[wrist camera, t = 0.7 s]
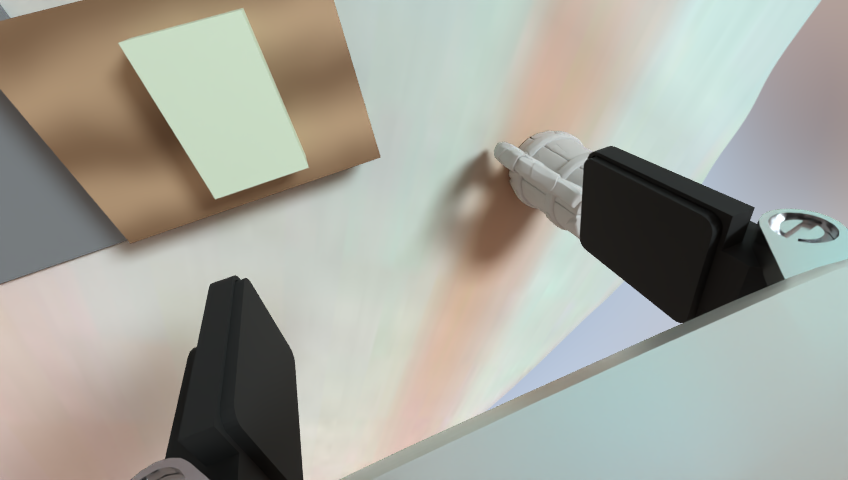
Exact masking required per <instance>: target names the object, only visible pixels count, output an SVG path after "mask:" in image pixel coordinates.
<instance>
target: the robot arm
mask: <svg viewBox="0 0 848 480" xmlns="http://www.w3.org/2000/svg"><path fill="white" fill-rule="evenodd" d="M753 211H754V207H752V206H750V205H748V204H745V203H743V202H741V201H738V200H736V199H734V198H731V197H729V196H727V195H725V194H722V193H720V192H718V191H715V190H713V189H711V188H709V187H706V186H704V185H702V184H699V183H697V182H695V181H692V180H690V179H688V178H685V177H683V176H681V175H679V174H676V173H674V172H672V171H669V170H667V169H665V168H662V167H660V166H658V165H656V164H653V163H651V162H649V161H646V160H644V159H642V158H639V157H637V156H635V155H632V154H630V153H628V152H626V151H623V150H621V149H619V148H616V147H613V146H609V147H606V148H603V149H600V150H597V151H594V152H592V153H590V154H589V156H588V159H587V160H586V161H585V163H584V168H583V186H582V204H581V221H580V242H581V244H582V246H583V247H584V248H585V249H586V250H587V251H588V252H589V253H591V254H592V255H593V256H594V257H596V258H597V259H598V260H599V261H601V262H602V263H603V264H604V265H606V266H607V267H608V268H609V269H611V270H612V271H613V272H614V273H616V274H617V275H618V276H619V277H621V278H622V279H623V280H624V281H626V282H627V283H628V284H629V285H631V286H632V287H633V288H634V289H636V290H637V291H638V292H640V293H641V294H642V295H643V296H644V297H646V298H647V299H648V300H649V301H651V302H652V303H653V304H654V305H656V306H657V307H658V308H660V309H661V310H662V311H663V312H665V313H666V314H667V315H669V316H670V317H671V318H672V319H673V320H675V321H676V322H679V323H683V324H680V325H678V326H676V327H673V328H671V329H669V330H667V331H664V332H662V333H660V334H658V335H655V336H653V337H651V338H649V339H646V340H644V341H642V342H640V343H637V344H635V345H633V346H631V347H629V348H626V349H624V350H622V351H619V352H617V353H615V354H613V355H610V356H609V357H606V358H604V359H602V360H599V361H597V362H595V363H593V364H591V365H588V366H586V367H584V368H581V369H579V370H577V371H575V372H572V373H570V374H568V375H566V376H564V377H561V378H559V379H557V380H555V381H553V382H550V383H548V384H546V385H544V386H542V387H539V388H537V389H535V390H533V391H530V392H528V393H526V394H524V395H521V396H519V397H517V398H515V399H513V400H510V401H508V402H506V403H504V404H502V405H500V406H497V407H495V408H493V409H491V410H488V411H486V412H484V413H482V414H480V415H477V416H475V417H473V418H471V419H469V420H466V421H464V422H462V423H460V424H458V425H455V426H453V427H451V428H449V429H447V430H444V431H442V432H440V433H438V434H436V435H433V436H431V437H429V438H427V439H425V440H422V441H420V442H418V443H416V444H414V445H411V446H409V447H407V448H405V449H403V450H401V451H399V452H396V453H394V454H392V455H390V456H388V457H386V458H384V459H382V460H380V461H377V462H375V463H373V464H371V465H369V466H367V467H365V468H363V469H361V470H358V471H356V472H354V473H352V474H350V475H348V476H346V477H344V478H342V479H340V480H848V229H847V228H846V227H845V226H844V225H843V224H842V223H840V222H838V221H836V220H835V219H833V218H831V217H829V216H826V215H823V214H820V213H817V212H812V211H807V210H800V209H777V210H773V211H769V212H767V213H765V214H763V215H762V216H761V217H760V219H759V221H758V224H756V223H753V222H751V221H750V219H751V216H752V213H753ZM131 480H303V470H302V456H301V442H300V428H299V414H298V399H297V385H296V371H295V360H294V356H293V353H292V351H291V349H290V347H289V345H288V344H287V342H286V340H285V339H284V337H283V335H282V334H281V332H280V330H279V329H278V327H277V325H276V324H275V322H274V320H273V319H272V317H271V315H270V314H269V312H268V310H267V309H266V307H265V305H264V304H263V302H262V300H261V299H260V297H259V295H258V294H257V292H256V290H255V289H254V287H253V285H252V284H251V282H250V281H249V280H248V279H247V278H245V279H242V280H240V278H239V277H238V276H232V277H229V278H226V279H223V280H220V281H217V282H215V283H212V284H210V286H209V291H208V295H207V300H206V305H205V310H204V315H203V320H202V325H201V329H200V334H199V339H198V344H197V347H196V348H193V349H192V350H191V351H190V353H189V356H188V359H187V364H186V368H185V372H184V377H183V381H182V386H181V390H180V395H179V399H178V404H177V408H176V412H175V417H174V421H173V426H172V430H171V435H170V439H169V444H168V448H167V453H166V457H165V459H164V460H161V461H158V462H155V463H154V464H152V465H150V466H148V467H147V468H145V469H143V470H142V471H140V472H139V473H138V474H137V475H136V476H134V477H133V478H132V479H131Z"/></svg>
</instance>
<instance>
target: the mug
mask: <svg viewBox="0 0 848 480" xmlns="http://www.w3.org/2000/svg"><path fill="white" fill-rule="evenodd" d="M531 138H532V139H531ZM531 138H528V139H527V140H526V141H525V142H524V143H523V144H522V145H521V146H520V147H519V148H517V147H515V146H514V145H511V144H509V143H506V142H502V143H501V142H500V143H498V144H497V145H496V147H495V150H494V156H495V158H496V159H497V160H498V161H499V162H500V163H502V164H503V165H504V166H505V167H506V168H508V169H509V176H510V178H511V179H510V184H511V186H512V188H513V190H514V192H515V194H516V195H517V197H518V198H519V199H520V200H521V201H522V202H523V203H524V204H526V205H527V206H529V207H532V208H536V209H539V210H541V211H542V212H543V213H545V214H546V217H547V218H548V219H549V220H550V221H551V222H552V223H554V224H555V225H556V226H557V227H559V228H561V229H563V230H568V231H569V232H571V233H572V234H574V235H575V236H576V237H578V238H579V239H580V221H581V204H582V186H583V168H584V163H585V161H586V160H587V159H588V156H589V154H590V153H592V152H593V151H591V150H589V149H588V148H586V147H584V146H583V144H582V143H581V141H580V140H579V139H578V138H576V137H575V136H573V135H571V134H569V133H567V132H562V131H546V132H542V133H537V134H535V135H533V136H531Z"/></svg>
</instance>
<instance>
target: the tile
mask: <svg viewBox="0 0 848 480" xmlns="http://www.w3.org/2000/svg"><path fill="white" fill-rule="evenodd" d="M118 44H119V45H120V47H121V48H122V50H123V52H124V53H125V55H126V56H127V58H128V60H129V61H130V63H131V65H132V66H133V68H134V69H135V71H136V73H137V74H138V76H139V77H140V79H141V81H142V82H143V84H144V85H145V87H146V89H147V90H148V92H149V94H150V95H151V97H152V98H153V100H154V102H155V103H156V105H157V106H158V108H159V110H160V111H161V113H162V114H163V116H164V118H165V119H166V121H167V122H168V124H169V126H170V127H171V129H172V131H173V132H174V134H175V135H176V137H177V139H178V140H179V142H180V143H181V145H182V147H183V148H184V150H185V151H186V153H187V155H188V156H189V158H190V160H191V161H192V163H193V164H194V166H195V168H196V169H197V171H198V172H199V174H200V176H201V177H202V179H203V180H204V182H205V184H206V185H207V187H208V188H209V190H210V192H211V193H212V195H213V197H214V198H215V199H218V198H221V197H224V196H227V195H230V194H233V193H236V192H239V191H241V190H244V189H247V188H250V187H253V186H256V185H259V184H262V183H265V182H268V181H271V180H274V179H277V178H280V177H283V176H286V175H289V174H292V173H295V172H297V171H300V170H303V169H306V168H309V167H308V163H307V159H306V155H305V153H304V150H303V148H302V146H301V143H300V141H299V138H298V136H297V134H296V131H295V129H294V127H293V124H292V122H291V120H290V117H289V115H288V113H287V110H286V108H285V105H284V103H283V101H282V98H281V96H280V94H279V91H278V89H277V87H276V84H275V82H274V79H273V77H272V75H271V72H270V70H269V68H268V65H267V63H266V61H265V58H264V56H263V53H262V51H261V49H260V46H259V44H258V42H257V39H256V37H255V35H254V32H253V30H252V28H251V25H250V23H249V20H248V18H247V16H246V13H245V11H244V9H243V8H241V9H237V10H233V11H230V12H226V13H222V14H218V15H215V16H211V17H207V18H203V19H200V20H196V21H192V22H189V23H185V24H181V25H177V26H174V27H170V28H166V29H162V30H159V31H155V32H151V33H147V34H144V35H140V36H136V37H133V38H130V39H127V40H124V41H122V42H119V43H118Z"/></svg>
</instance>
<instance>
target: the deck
mask: <svg viewBox="0 0 848 480" xmlns="http://www.w3.org/2000/svg"><path fill="white" fill-rule="evenodd" d="M241 8H243V9H244V11H245V13H246V16H247V18H248V20H249V23H250V25H251V28H252V30H253V32H254V35H255V37H256V39H257V42H258V44H259V46H260V49H261V51H262V53H263V56H264V58H265V61H266V63H267V65H268V68H269V70H270V72H271V75H272V77H273V79H274V82H275V84H276V87H277V89H278V91H279V94H280V96H281V98H282V101H283V103H284V105H285V108H286V110H287V113H288V115H289V117H290V120H291V122H292V124H293V127H294V129H295V131H296V134H297V136H298V138H299V141H300V143H301V146H302V148H303V150H304V153H305V155H306V159H307V163H308V167H309V168H306V169H303V170H300V171H297V172H295V173H292V174H289V175H286V176H283V177H280V178H277V179H274V180H271V181H268V182H265V183H262V184H259V185H256V186H253V187H250V188H247V189H244V190H241V191H239V192H236V193H233V194H230V195H227V196H224V197H221V198H218V199H215V198H214V197H213V195H212V193H211V192H210V190H209V188H208V187H207V185H206V184H205V182H204V180H203V179H202V177H201V176H200V174H199V172H198V171H197V169H196V168H195V166H194V164H193V163H192V161H191V160H190V158H189V156H188V155H187V153H186V151H185V150H184V148H183V147H182V145H181V143H180V142H179V140H178V139H177V137H176V135H175V134H174V132H173V131H172V129H171V127H170V126H169V124H168V122H167V121H166V119H165V118H164V116H163V114H162V113H161V111H160V110H159V108H158V106H157V105H156V103H155V102H154V100H153V98H152V97H151V95H150V94H149V92H148V90H147V89H146V87H145V85H144V84H143V82H142V81H141V79H140V77H139V76H138V74H137V73H136V71H135V69H134V68H133V66H132V65H131V63H130V61H129V60H128V58H127V56H126V55H125V53H124V52H123V50H122V48H121V47H120V45H119V44H118V43H119V42H122V41H124V40H127V39H130V38H133V37H136V36H140V35H144V34H147V33H151V32H155V31H159V30H162V29H166V28H170V27H174V26H177V25H181V24H185V23H189V22H192V21H196V20H200V19H203V18H207V17H211V16H215V15H218V14H222V13H226V12H230V11H233V10H237V9H241ZM0 89H1V90H2V92H3V93H4V94H5V95H6V96H7V98H8V99H9V100H10V101H11V102H12V104H13V105H14V106H15V107H16V108H17V109H18V111H19V112H20V113H21V114H22V115H23V117H24V118H25V119H26V120H27V121H28V123H29V124H30V125H31V126H32V127H33V128H34V130H35V131H36V132H37V133H38V134H39V136H40V137H41V138H42V139H43V140H44V142H45V143H46V144H47V145H48V146H49V147H50V149H51V150H52V151H53V152H54V153H55V155H56V156H57V157H58V158H59V159H60V161H61V162H62V163H63V164H64V165H65V166H66V168H67V169H68V170H69V171H70V172H71V174H72V175H73V176H74V177H75V178H76V179H77V181H78V182H79V183H80V184H81V185H82V187H83V188H84V189H85V190H86V191H87V193H88V194H89V195H90V196H91V197H92V198H93V200H94V201H95V202H96V203H97V204H98V206H99V207H100V208H101V209H102V210H103V212H104V213H105V214H106V215H107V216H108V217H109V219H110V220H111V221H112V222H113V223H114V225H115V226H116V227H117V228H118V229H119V231H120V232H121V233H122V234H123V235H124V236H125V238H126V239H127V240H128V241H129V242H130V244H131V243H133V242H136V241H139V240H142V239H145V238H148V237H151V236H154V235H157V234H160V233H162V232H165V231H168V230H171V229H174V228H177V227H180V226H183V225H186V224H189V223H191V222H194V221H197V220H200V219H203V218H206V217H209V216H212V215H215V214H218V213H220V212H223V211H226V210H229V209H232V208H235V207H238V206H241V205H244V204H247V203H249V202H252V201H255V200H258V199H261V198H264V197H267V196H270V195H273V194H276V193H278V192H281V191H284V190H287V189H290V188H293V187H296V186H299V185H302V184H305V183H307V182H310V181H313V180H316V179H319V178H322V177H325V176H328V175H331V174H334V173H336V172H339V171H342V170H345V169H348V168H351V167H354V166H357V165H360V164H363V163H365V162H368V161H371V160H374V159H377V158H380V154H379V150H378V147H377V144H376V140H375V137H374V134H373V130H372V127H371V124H370V120H369V117H368V114H367V110H366V107H365V104H364V100H363V97H362V94H361V90H360V87H359V84H358V80H357V77H356V73H355V70H354V67H353V63H352V60H351V57H350V53H349V50H348V47H347V43H346V40H345V37H344V33H343V30H342V27H341V23H340V20H339V17H338V13H337V10H336V6H335V3H334V0H82V1H78V2H74V3H70V4H66V5H62V6H58V7H54V8H50V9H46V10H42V11H38V12H34V13H30V14H26V15H22V16H18V17H14V18H10V19H6V20H2V21H0Z"/></svg>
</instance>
